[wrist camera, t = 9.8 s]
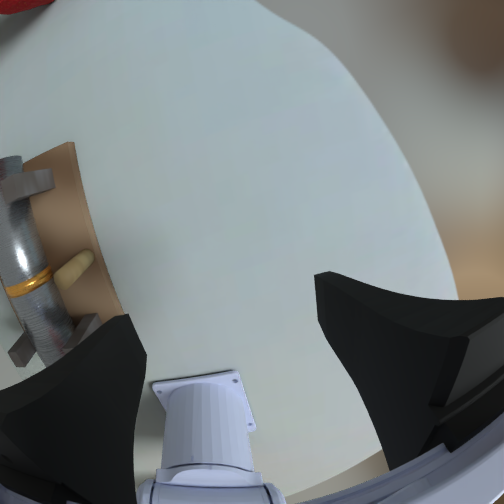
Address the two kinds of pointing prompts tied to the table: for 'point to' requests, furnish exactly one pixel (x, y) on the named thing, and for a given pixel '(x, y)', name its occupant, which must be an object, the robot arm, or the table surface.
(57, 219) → the collar stand
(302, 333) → the table surface
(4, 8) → the strawberry
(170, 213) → the table surface
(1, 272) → the silver metal cylinder
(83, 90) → the table surface
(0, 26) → the table surface
